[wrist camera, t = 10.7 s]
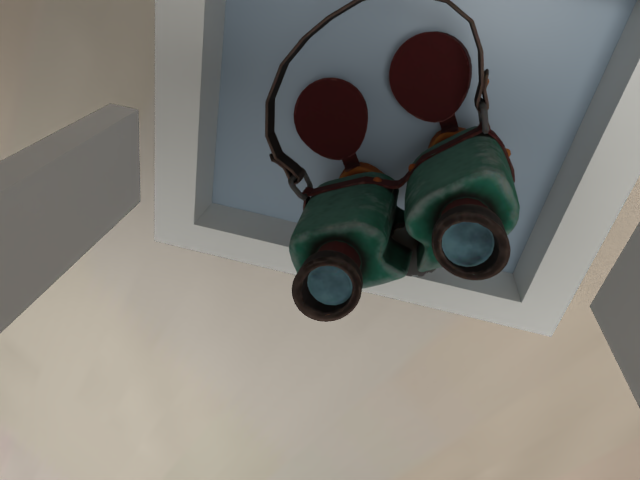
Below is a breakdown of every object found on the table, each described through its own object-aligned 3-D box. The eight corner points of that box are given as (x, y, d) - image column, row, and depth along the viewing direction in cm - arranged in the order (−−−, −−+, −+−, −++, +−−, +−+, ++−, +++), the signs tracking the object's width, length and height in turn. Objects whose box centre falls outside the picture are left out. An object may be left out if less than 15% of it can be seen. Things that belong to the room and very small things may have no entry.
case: (194, -140, 20) (155, -157, 17) (702, -40, 19) (757, -39, 16) (182, 210, 28) (154, 240, 25) (536, 294, 27) (551, 336, 24)
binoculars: (462, -86, 11) (580, 305, 14) (448, -37, 20) (519, 187, 23) (137, 85, 14) (290, 374, 17) (258, 57, 23) (342, 244, 26)
